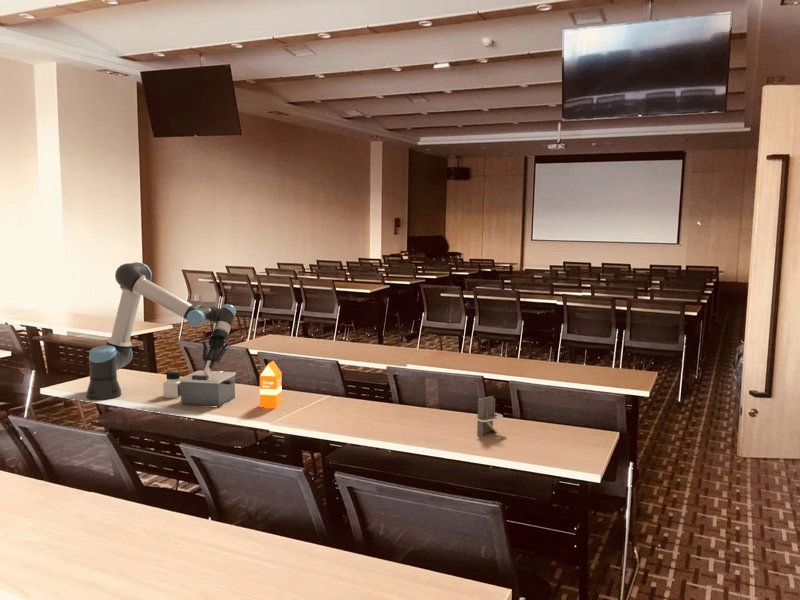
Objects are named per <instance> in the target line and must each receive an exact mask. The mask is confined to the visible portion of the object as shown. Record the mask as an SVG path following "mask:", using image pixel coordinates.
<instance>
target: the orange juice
mask: <svg viewBox="0 0 800 600" xmlns="http://www.w3.org/2000/svg"><path fill="white" fill-rule="evenodd" d="M282 374H283V373H282V371H281V370H280V368H279V367H278V365H277V364H276V363H275V360H272V361H270V362H269V363H268V364H267V365H266V366H265V368H264V369H263V370H262V372H261V373H260V375H259V408H261V407H264V408H265V409H277V408H278V407H279V406H281V403H282V402H283V399H282V398H283V395H282V393H283V391H282V389H283V388H282V378H283V376H282ZM264 408H263V409H264ZM261 409H262V408H261Z"/></svg>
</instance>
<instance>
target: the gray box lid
mask: <svg viewBox="0 0 800 600" xmlns="http://www.w3.org/2000/svg"><path fill="white" fill-rule="evenodd" d="M203 372H204V370H196V371H194V372H191V373H190V374H187V375H184V376H182V377H180V379H179V382H195V383H216V384H219V383H221V382H223V381H225V380H227V379H228V378H230V377H232V376H234V375H235V376H236V374H237V372H236V371H219V370H210V372H209V375H205V374H204V373H203Z"/></svg>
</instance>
